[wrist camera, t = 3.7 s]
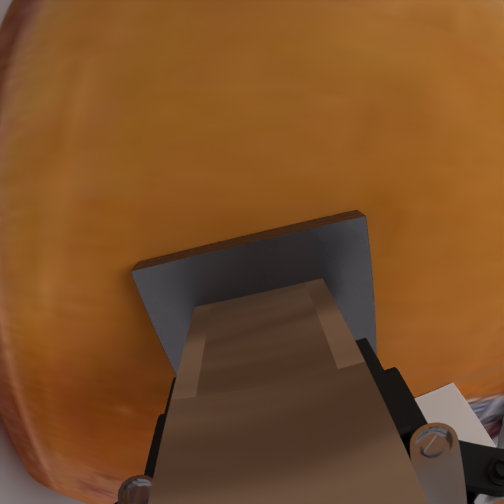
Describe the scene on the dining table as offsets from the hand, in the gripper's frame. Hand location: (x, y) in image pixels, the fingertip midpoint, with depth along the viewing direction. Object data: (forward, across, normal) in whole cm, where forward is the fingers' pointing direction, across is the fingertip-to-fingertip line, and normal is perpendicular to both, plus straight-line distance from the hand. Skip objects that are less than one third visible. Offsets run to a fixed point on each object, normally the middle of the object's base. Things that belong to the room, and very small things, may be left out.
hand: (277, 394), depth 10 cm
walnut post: (+3, 0, 0) cm, 3 cm away
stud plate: (+4, 0, 0) cm, 4 cm away
